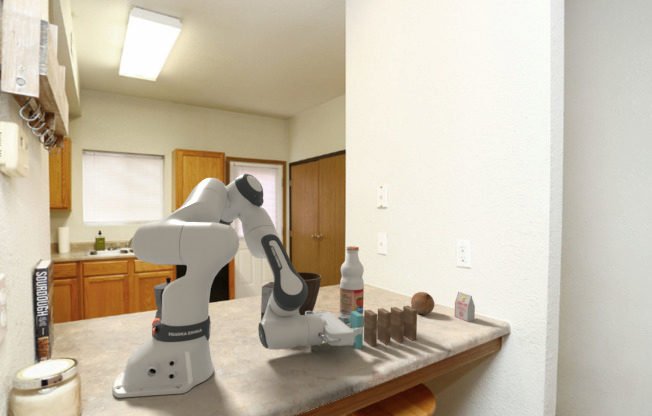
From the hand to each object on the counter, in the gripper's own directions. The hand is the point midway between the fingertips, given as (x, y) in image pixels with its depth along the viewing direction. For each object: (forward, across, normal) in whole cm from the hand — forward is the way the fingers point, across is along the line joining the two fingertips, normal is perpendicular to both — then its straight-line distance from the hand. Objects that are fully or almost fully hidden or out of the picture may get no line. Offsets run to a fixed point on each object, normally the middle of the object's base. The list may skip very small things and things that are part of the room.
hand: (355, 324), depth 105 cm
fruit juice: (+10, +25, +7) cm, 28 cm away
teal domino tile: (0, 0, +7) cm, 7 cm away
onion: (+41, +21, +7) cm, 47 cm away
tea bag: (+54, +10, +7) cm, 55 cm away
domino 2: (+10, 0, +7) cm, 12 cm away
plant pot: (-8, +33, +7) cm, 35 cm away
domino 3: (+15, 0, +7) cm, 17 cm away
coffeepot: (-57, +32, +7) cm, 65 cm away
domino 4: (+20, 0, +7) cm, 22 cm away
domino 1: (+6, 0, +7) cm, 9 cm away
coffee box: (-22, +21, +7) cm, 31 cm away
